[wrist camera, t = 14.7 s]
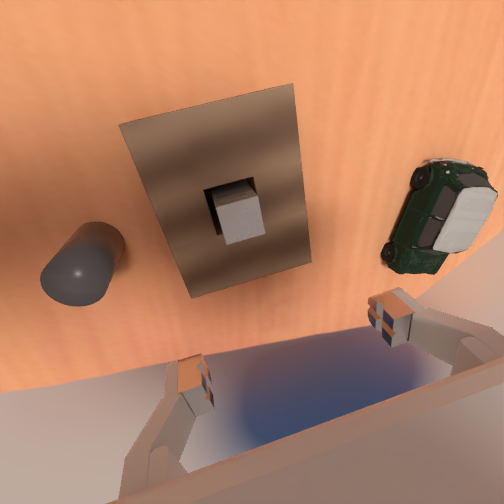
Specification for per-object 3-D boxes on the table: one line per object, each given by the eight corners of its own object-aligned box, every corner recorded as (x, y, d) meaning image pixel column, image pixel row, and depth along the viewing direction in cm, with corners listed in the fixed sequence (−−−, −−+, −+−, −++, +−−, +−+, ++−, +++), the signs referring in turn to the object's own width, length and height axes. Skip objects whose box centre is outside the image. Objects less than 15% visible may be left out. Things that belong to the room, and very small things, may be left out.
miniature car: (375, 263, 46) (409, 291, 39) (419, 153, 38) (472, 163, 31) (417, 264, 48) (456, 290, 41) (467, 160, 40) (526, 171, 33)
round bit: (64, 228, 32) (26, 268, 24) (112, 216, 32) (89, 250, 24) (88, 267, 35) (61, 313, 27) (131, 254, 35) (117, 296, 27)
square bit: (207, 181, 33) (215, 207, 24) (238, 172, 33) (257, 195, 25) (216, 210, 35) (226, 244, 26) (245, 202, 35) (265, 233, 27)
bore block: (130, 121, 28) (118, 124, 23) (274, 87, 30) (293, 83, 24) (190, 272, 38) (191, 298, 33) (295, 241, 40) (311, 262, 35)
